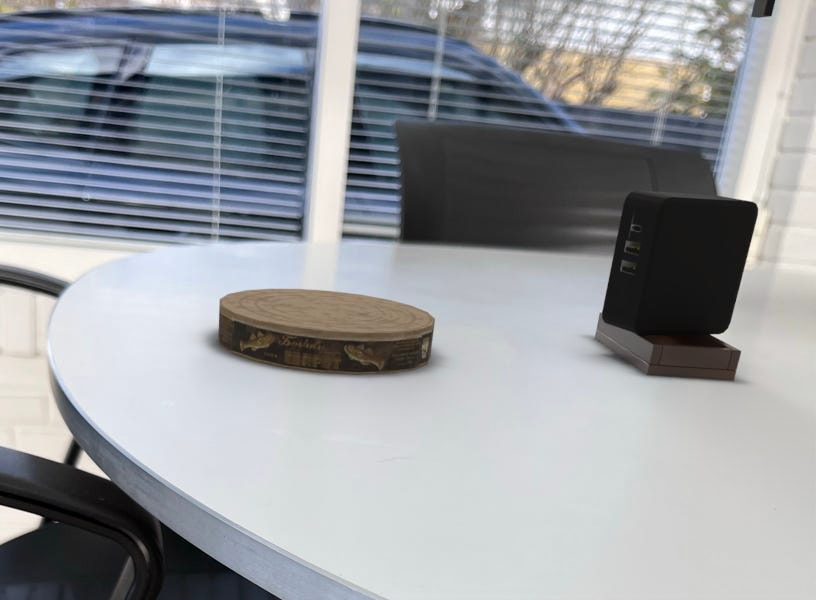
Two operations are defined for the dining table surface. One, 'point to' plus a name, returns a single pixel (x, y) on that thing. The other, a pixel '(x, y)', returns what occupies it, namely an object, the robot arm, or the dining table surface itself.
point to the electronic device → (678, 263)
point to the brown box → (672, 353)
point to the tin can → (325, 331)
